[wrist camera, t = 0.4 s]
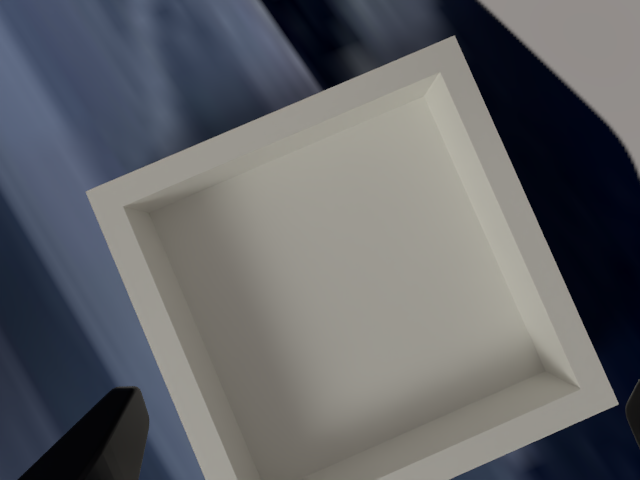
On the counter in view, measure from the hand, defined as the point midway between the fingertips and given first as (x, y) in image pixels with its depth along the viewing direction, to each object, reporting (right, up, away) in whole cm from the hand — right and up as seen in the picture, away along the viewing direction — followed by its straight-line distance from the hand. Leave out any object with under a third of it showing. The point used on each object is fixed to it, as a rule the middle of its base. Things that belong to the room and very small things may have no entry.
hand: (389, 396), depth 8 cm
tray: (0, 0, +15) cm, 15 cm away
